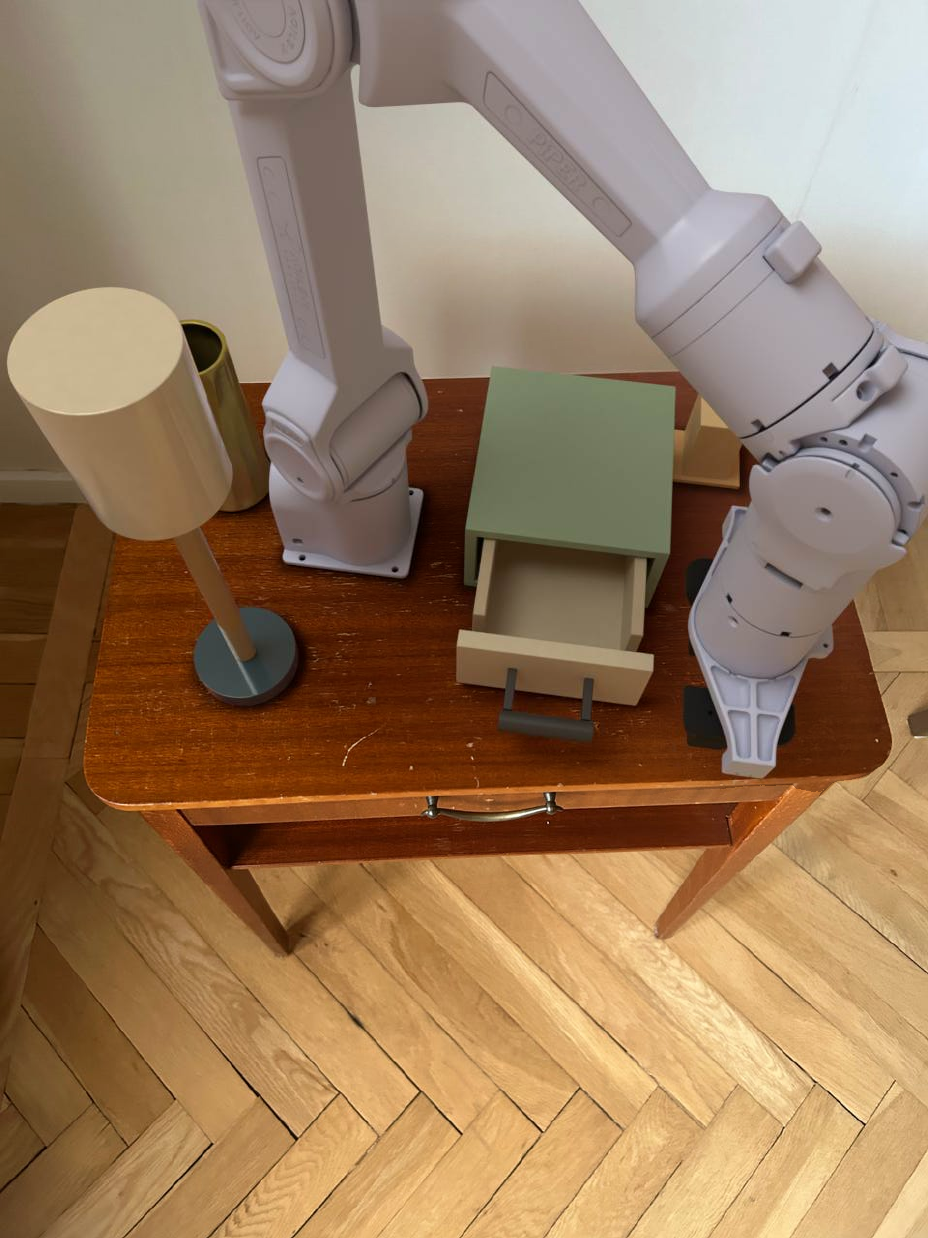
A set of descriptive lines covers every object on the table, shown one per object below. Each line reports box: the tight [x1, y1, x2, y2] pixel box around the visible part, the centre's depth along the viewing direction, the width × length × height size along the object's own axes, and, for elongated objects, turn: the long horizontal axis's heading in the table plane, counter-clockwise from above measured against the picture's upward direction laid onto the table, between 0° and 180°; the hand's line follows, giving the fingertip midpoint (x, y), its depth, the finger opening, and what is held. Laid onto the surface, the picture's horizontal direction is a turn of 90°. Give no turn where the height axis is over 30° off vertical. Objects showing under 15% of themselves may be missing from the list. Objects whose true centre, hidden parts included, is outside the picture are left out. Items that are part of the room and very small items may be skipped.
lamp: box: [6, 286, 300, 707], centre depth 49 cm, size 7×7×30 cm
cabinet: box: [463, 365, 677, 609], centre depth 65 cm, size 15×14×8 cm
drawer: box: [455, 537, 655, 745], centre depth 60 cm, size 18×12×6 cm
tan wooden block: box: [682, 392, 743, 479], centre depth 68 cm, size 4×4×6 cm
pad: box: [673, 429, 741, 490], centre depth 70 cm, size 6×5×1 cm
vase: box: [179, 318, 271, 512], centre depth 63 cm, size 6×6×14 cm
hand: (705, 696), depth 52 cm, fingers open, 5 cm apart
